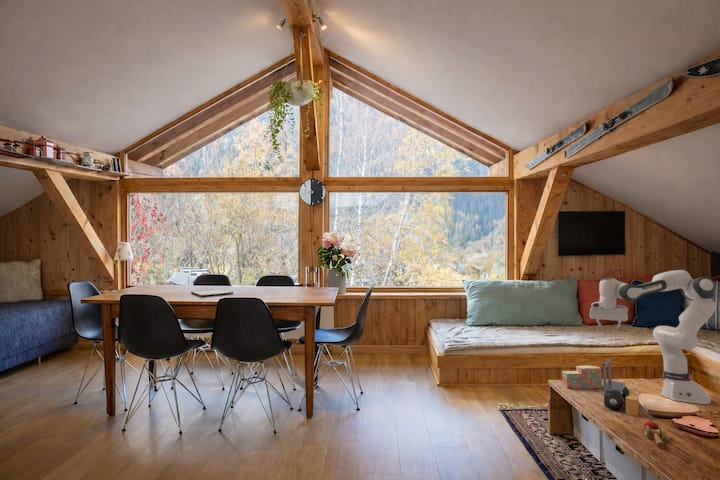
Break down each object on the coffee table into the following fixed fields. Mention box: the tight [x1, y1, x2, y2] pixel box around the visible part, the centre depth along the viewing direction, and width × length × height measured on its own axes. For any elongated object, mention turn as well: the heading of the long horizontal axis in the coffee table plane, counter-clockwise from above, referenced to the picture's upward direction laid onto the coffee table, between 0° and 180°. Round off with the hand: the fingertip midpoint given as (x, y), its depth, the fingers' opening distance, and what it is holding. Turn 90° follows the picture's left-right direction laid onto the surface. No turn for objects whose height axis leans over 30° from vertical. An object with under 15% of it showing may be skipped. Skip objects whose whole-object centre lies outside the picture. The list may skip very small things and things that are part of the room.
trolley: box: [602, 357, 631, 412], centre depth 241 cm, size 10×21×23 cm, turn 141°
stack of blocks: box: [561, 365, 603, 390], centre depth 272 cm, size 21×6×12 cm, turn 90°
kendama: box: [643, 420, 666, 449], centre depth 197 cm, size 8×6×18 cm
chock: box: [625, 395, 640, 417], centre depth 228 cm, size 5×5×8 cm
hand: (608, 327), depth 268 cm, fingers open, 8 cm apart
